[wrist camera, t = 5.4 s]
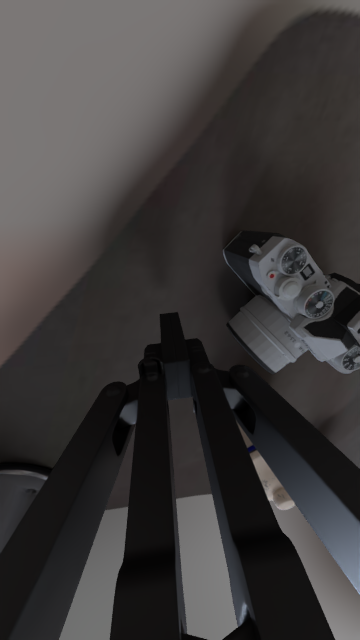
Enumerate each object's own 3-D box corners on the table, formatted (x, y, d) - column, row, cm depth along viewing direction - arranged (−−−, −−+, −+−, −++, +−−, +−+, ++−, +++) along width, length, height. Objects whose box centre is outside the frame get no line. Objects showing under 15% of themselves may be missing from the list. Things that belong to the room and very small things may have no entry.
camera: (181, 280, 20) (203, 326, 11) (251, 207, 18) (346, 192, 9) (267, 361, 26) (326, 433, 17) (327, 313, 24) (431, 366, 15)
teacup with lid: (197, 395, 27) (225, 503, 17) (260, 368, 26) (330, 462, 16) (226, 443, 32) (261, 547, 22) (280, 421, 32) (342, 518, 21)
